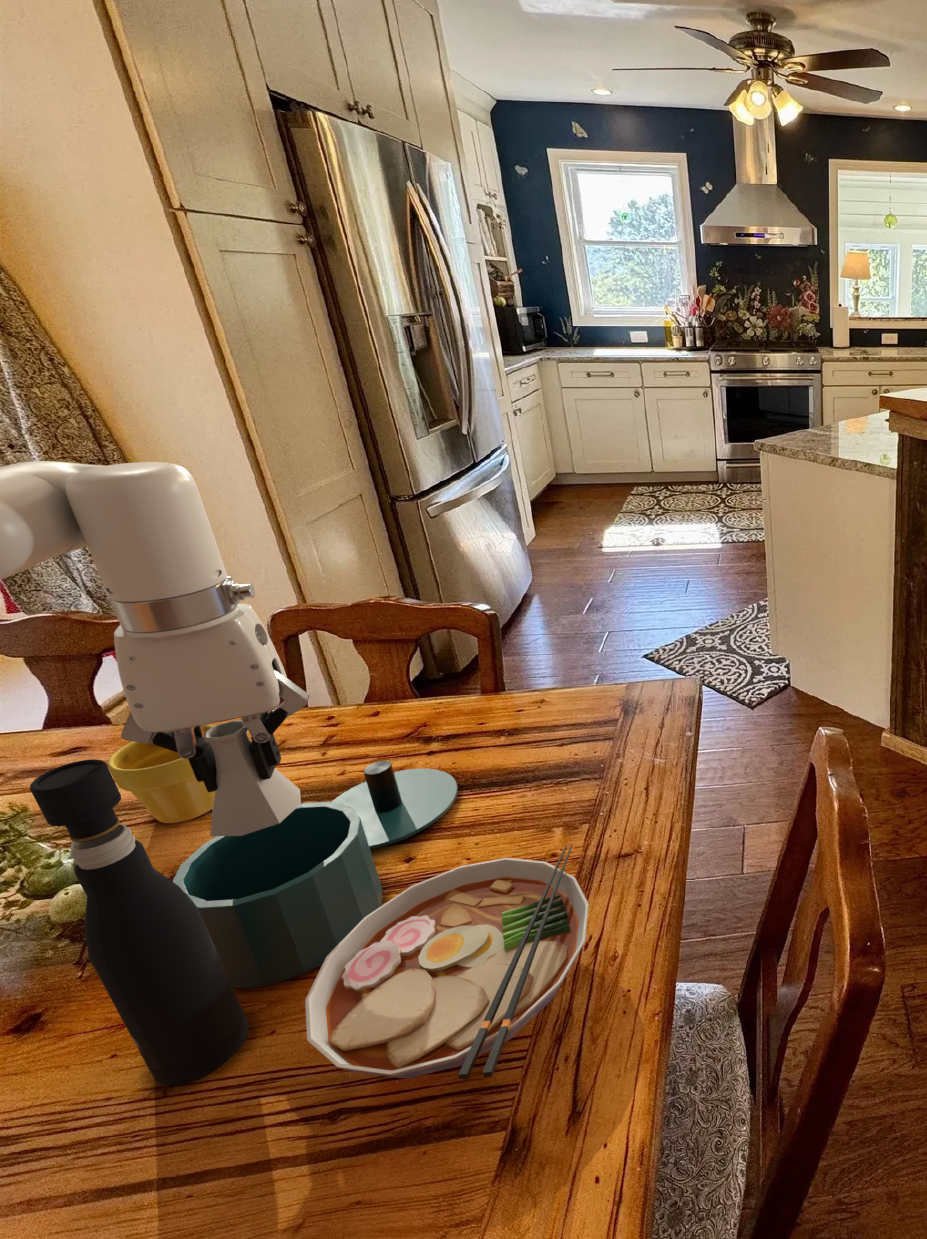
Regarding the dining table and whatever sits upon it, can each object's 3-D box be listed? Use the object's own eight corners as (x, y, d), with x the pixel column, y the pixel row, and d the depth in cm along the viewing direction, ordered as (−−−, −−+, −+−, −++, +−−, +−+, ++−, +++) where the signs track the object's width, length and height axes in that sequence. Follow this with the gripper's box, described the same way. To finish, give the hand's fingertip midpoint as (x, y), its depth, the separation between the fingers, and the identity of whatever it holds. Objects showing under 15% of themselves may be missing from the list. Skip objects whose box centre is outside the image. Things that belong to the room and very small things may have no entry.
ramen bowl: (415, 907, 78) (398, 849, 75) (625, 895, 80) (617, 838, 77) (250, 1162, 54) (215, 1094, 51) (552, 1135, 57) (536, 1068, 54)
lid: (305, 872, 82) (287, 824, 79) (326, 795, 95) (311, 751, 92) (458, 829, 89) (447, 784, 87) (458, 762, 102) (449, 721, 99)
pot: (187, 1013, 66) (147, 930, 62) (229, 903, 78) (198, 828, 74) (375, 950, 72) (349, 872, 69) (387, 858, 84) (366, 787, 81)
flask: (229, 799, 71) (196, 716, 68) (314, 784, 74) (286, 703, 70) (194, 847, 65) (155, 758, 61) (288, 829, 68) (256, 742, 64)
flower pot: (223, 823, 89) (197, 759, 86) (118, 843, 86) (86, 777, 82) (255, 775, 98) (233, 716, 95) (161, 792, 95) (134, 731, 91)
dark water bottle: (267, 1015, 66) (153, 748, 55) (209, 1086, 60) (67, 802, 49) (197, 1016, 65) (68, 748, 54) (131, 1087, 59) (-29, 802, 48)
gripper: (302, 576, 68) (351, 736, 75) (66, 606, 60) (144, 780, 67) (287, 604, 62) (341, 774, 69) (22, 641, 54) (112, 828, 61)
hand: (243, 776), depth 68 cm, fingers closed on flask, 3 cm apart
